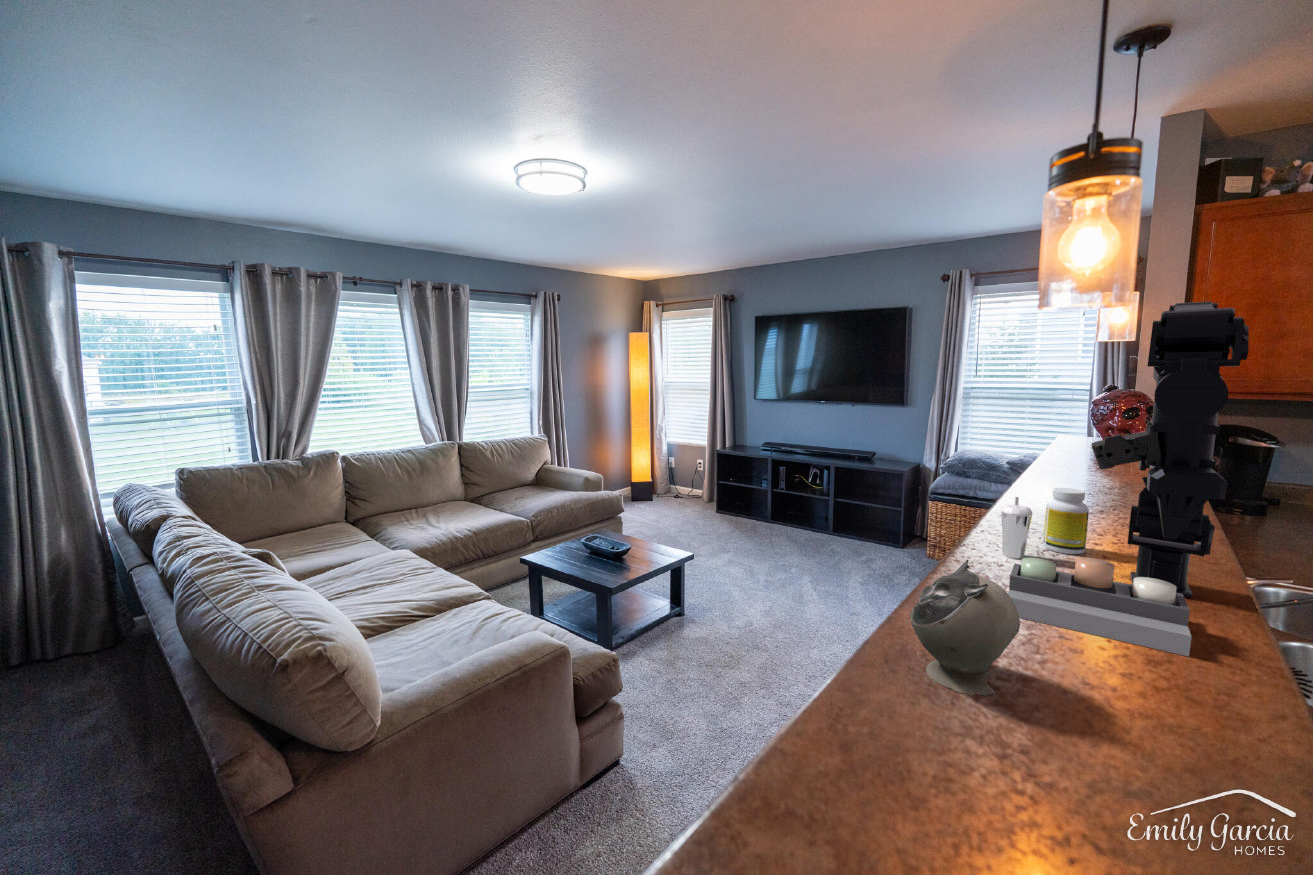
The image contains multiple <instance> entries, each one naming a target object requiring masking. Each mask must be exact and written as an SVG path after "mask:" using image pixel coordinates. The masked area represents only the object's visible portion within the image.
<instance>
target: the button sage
mask: <svg viewBox="0 0 1313 875" xmlns="http://www.w3.org/2000/svg"><path fill="white" fill-rule="evenodd" d="M1020 564H1021V574H1020V576H1023V577H1028V578H1033V579H1038V580H1044V581H1049V582H1054V583H1055V578H1056V571H1057V567H1058V566H1057V564H1056V563H1054V561H1050V560H1048V559H1047V560H1046V559H1043V558H1038V557H1024V558H1022V559H1021V563H1020Z"/></svg>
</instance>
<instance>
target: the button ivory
mask: <svg viewBox="0 0 1313 875" xmlns="http://www.w3.org/2000/svg"><path fill="white" fill-rule="evenodd" d="M1176 588H1177V587H1176V586H1175V585H1174V584H1172V583H1169V582H1166V581H1163V580H1159V579H1155V578H1148V577H1136V578H1134V582H1133V590H1132V598H1137V599H1143V600H1148V601H1153V602H1158V603H1164V604H1169V605H1175V597H1176Z"/></svg>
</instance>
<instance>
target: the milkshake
mask: <svg viewBox="0 0 1313 875" xmlns="http://www.w3.org/2000/svg"><path fill="white" fill-rule="evenodd" d="M1019 499H1020V498H1019V497H1018V496H1015V499H1014V505H1013V504H1012V505H1011V504H1007V505H1005V506H1004V507H1002V508H1001V510H1000V512H1001V529H1002V531H1001V532H1002V533H1001V534H1002V535H1001V537H1002V538H1001V541H1002V546H1001V547H1002V556H1004V557H1006V558H1009V559H1012V560H1013V559H1015V560H1017V559H1018V560H1022V559H1023V558H1025V552H1026V547H1027V542H1028V537H1029V535H1028V534H1029V531H1030V527H1031V522H1032V518H1033V510H1032V509H1031V507H1028V506H1023V505H1019Z"/></svg>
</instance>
